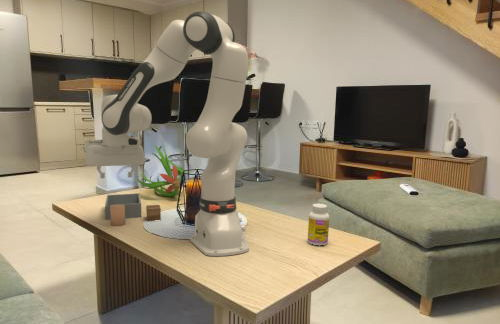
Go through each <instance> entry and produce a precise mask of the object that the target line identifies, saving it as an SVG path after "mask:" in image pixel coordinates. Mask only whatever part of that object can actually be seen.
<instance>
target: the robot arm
mask: <svg viewBox="0 0 500 324" xmlns="http://www.w3.org/2000/svg"><path fill="white" fill-rule="evenodd" d="M235 41H236V34H235V31H234V29H233V28H232V26H231V25H230V24H229V23H228V22H227V21H225V20H223V19H222V18H221V17H219V16H218V15H214V14H212V13H210V12H208V11H201V10H200V11H195V12H192V13H191V14H189V15H188V16H187V17H186V19H185V20H183V19H174V20H173V21H171V22H170V23H169V25H168V26H167V27H165V29H164V30H163V32H162V33H161V35H160V36H159V39H158V40H157V42H156V44H155V46H154V47H153V49H152V50H151V51H150V53H149V54H148V56H147V57H146V58H145V59H144V61H143V62H141V63H140V64H139V65H138V66H137V67H136V68H135V69H134V70H133V72H132V73H131V75H130V76H129V77H128V79H127V81H126V82H125V83H124V85H123V86H122V88H121V89H120V90H119V92H118V93H111V94H107V95H104V97H103V98H102V101H101V106H100V107H101V108H100V110H101V111H100V112H101V113H100V114H101V123H102V129H101V138H102V139H89V140H88V141H85V142H84V145H83V151H84V152H85V165H86V166H87V167H96V171H97V172H98V173H99V178H100V179H105V178H106V176H105V175H106V174H105V172H103V171H102V170H101V169H102V167H117V166H118V167H119V166H121V167H122V166H130V168H131V170H130V171H128V172H127V178H133V172H135V169H136V166H143V165H145V163H146V158H145V157H146V155H145V151H144V148H143V146H142V145H141V144H142V139H141V138H140V137H136V136H134V135H129V134H130V133H138V132H143V131H146V130H148V129H149V128H150V126H151V124H152V121H153V118H152V112H151V110H150V109H149V108H148V107H147V106H146V105H143V104H140V103H138V102H139V101H140V100H141V98H142V97H143V95H145V93H146V91H148V90H149V89H151V88H152V87H154V86H157V85H159V84H162V83H166V82H170V81H172V80H175V79H176V77H178V76H179V75H180V74H181V72H182V71H183V70H184V68H185V67H186V65H187V64H188V62H189V60H190V57H191V56H192V55H193V53H195V51H197V50H198V51H199V52H202V53H203V54H205V55H206V56H208V55H210V57H211V60H212V68H211V74H210V75H211V76H210V80H209V86H208V93H207V97H206V101H205V104H204V107H203V109H202V112H201V114H200V115H199V117H198V119H197V120H196V122H195V124H194V125H193V126H192V127H191V128H190V129H189V130H187V132H186V135H185V145H186V149H187V150H188V152H189V153H190V154H191V155H192V156H194V157H196V158H203V159H209V160H208V162H207V164H206V167H205V169H203V171H202V173H201V177H200V179H201V180H200V181H201V183H200V187H201V189H200V192H201V193H200V194H201V195H200V197H199V209H200V210H199V211H198V212H197V213H196V214H195V217H194V234H193V235H191V236H189V241H190V242H191V243H192V244H193V245H194V246H195V247H196V248H198V249H199V250H200V251H201V253H202V254H204V255H205V256H211V257H225V256H226V257H227V256H232V255H239V254H240V255H241V254H244V253H247V252H249V251H250V247H249V244H248V241H247V238H246V234H245V232H246V225H245V224H241V223H242V221H243V219H242V218H241V217H240V216H239V211H238V210H237V200H236V196H235V189H236V188H235V187H236V185H235V184H236V173H237V172H236V171H237V167H238V164H239V160H240V157H241V154H242V152H243V149H245V147H246V146H247V143H248V139H249V138H248V133H247V130H246V129H245V127H244V126H242V125H241V124H238V123H237V122H233V120H234V117H235V116H236V115H237V113H238V112H239V111H240V109H241V107H242V106H243V101H244V95H245V90H246V84H247V83H246V82H247V77H248V68H249V67H248V66H249V65H248V64H249V63H248V62H249V54H248V51H247V49H246V47H245V46H243V45H242V44H240V43H238V42H235Z"/></svg>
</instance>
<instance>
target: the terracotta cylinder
mask: <svg viewBox="0 0 500 324" xmlns="http://www.w3.org/2000/svg"><path fill="white" fill-rule="evenodd" d="M110 211H111V219H110V226H112V227H121V226H124V225H126V218H125V205H123V204H114V205H111V206H110Z"/></svg>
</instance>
